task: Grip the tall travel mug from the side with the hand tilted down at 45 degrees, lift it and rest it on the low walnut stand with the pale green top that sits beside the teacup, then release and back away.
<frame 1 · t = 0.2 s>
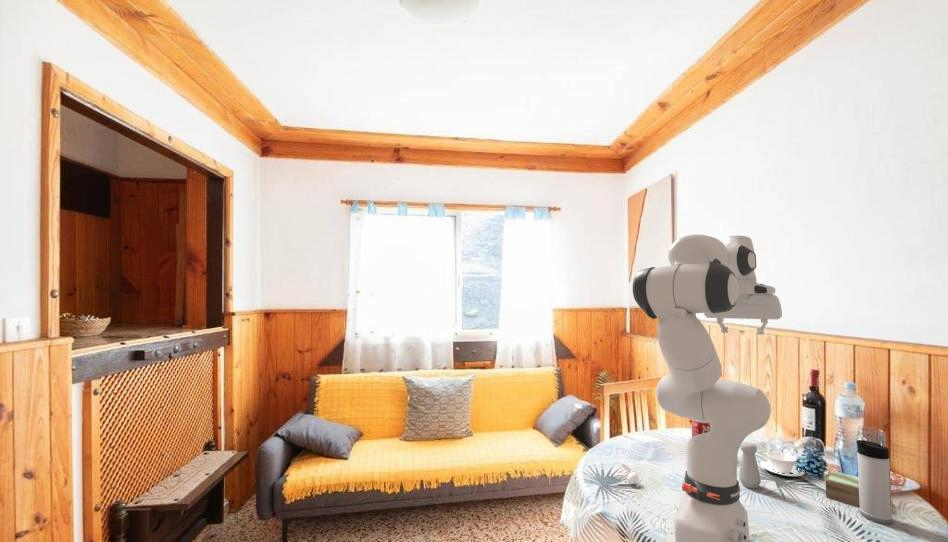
hand: (742, 333, 127), 48 cm above the table, tool pointing down, fingers open, 8 cm apart
teacup: (781, 472, 138), on the table
travel mug: (875, 518, 110), on the table
salt shaker: (749, 486, 128), on the table
stand: (848, 497, 121), on the table
soda can: (702, 452, 155), on the table
rabbit figurine: (626, 483, 131), on the table
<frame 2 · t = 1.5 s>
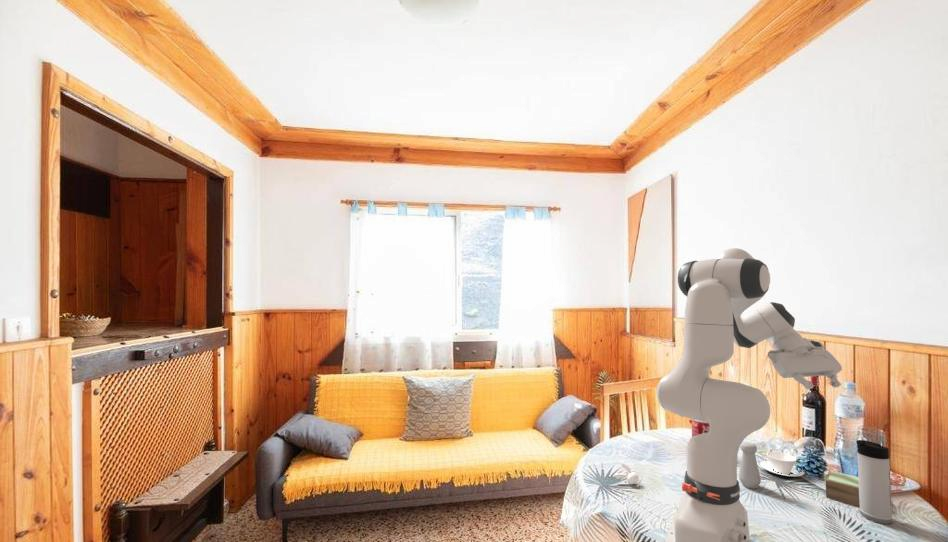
hand: (824, 387, 124), 32 cm above the table, tool tilted 45°, fingers open, 8 cm apart
nothing on the table moved.
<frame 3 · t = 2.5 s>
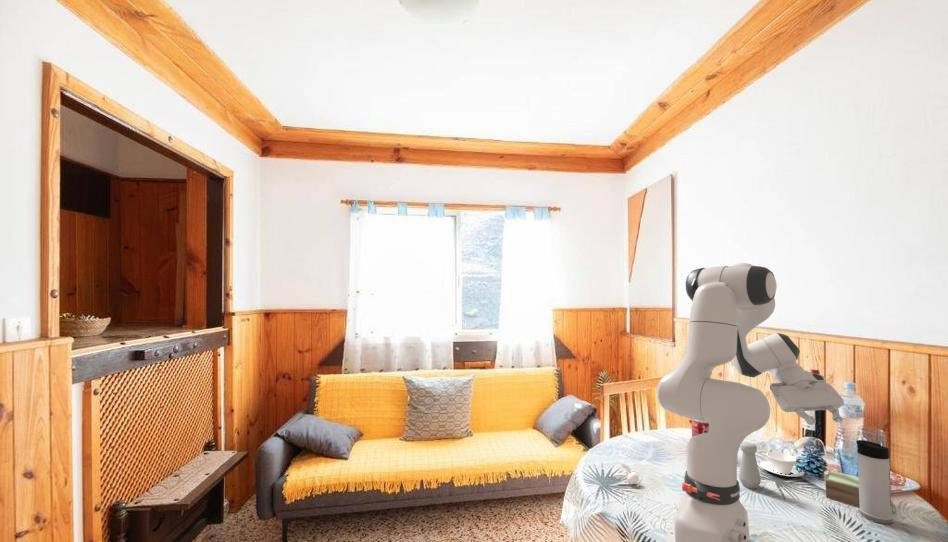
hand: (826, 422, 123), 21 cm above the table, tool tilted 45°, fingers open, 8 cm apart
nothing on the table moved.
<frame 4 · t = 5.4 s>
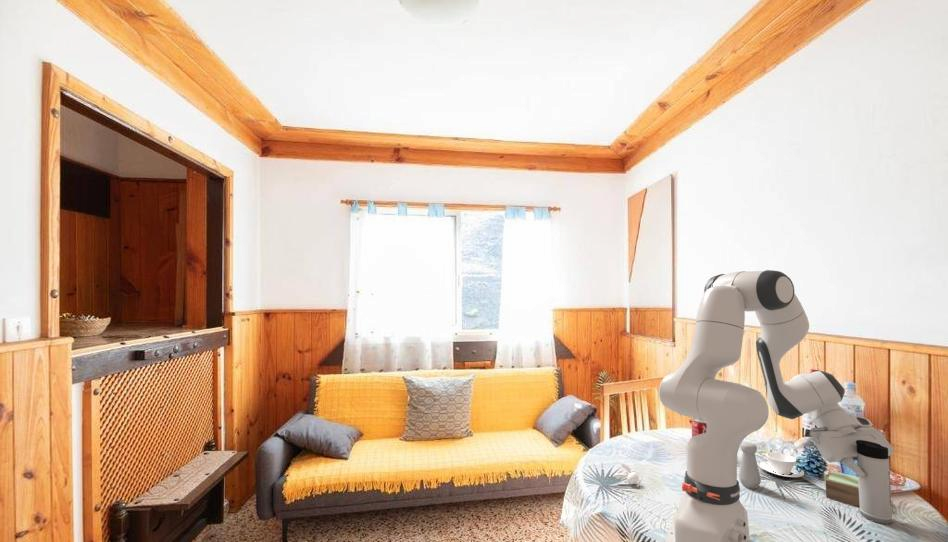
hand: (875, 475, 110), 11 cm above the table, tool tilted 45°, fingers closed on travel mug, 6 cm apart
travel mug: (875, 518, 110), on the table, touching gripper
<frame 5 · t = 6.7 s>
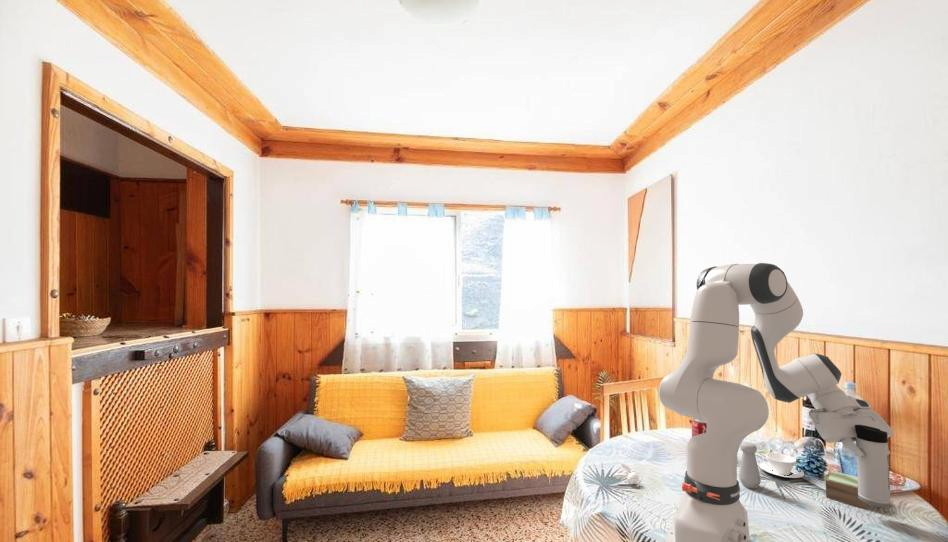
hand: (874, 455, 110), 17 cm above the table, tool tilted 45°, fingers closed on travel mug, 6 cm apart
travel mug: (873, 502, 110), point 4 cm above the table, touching gripper
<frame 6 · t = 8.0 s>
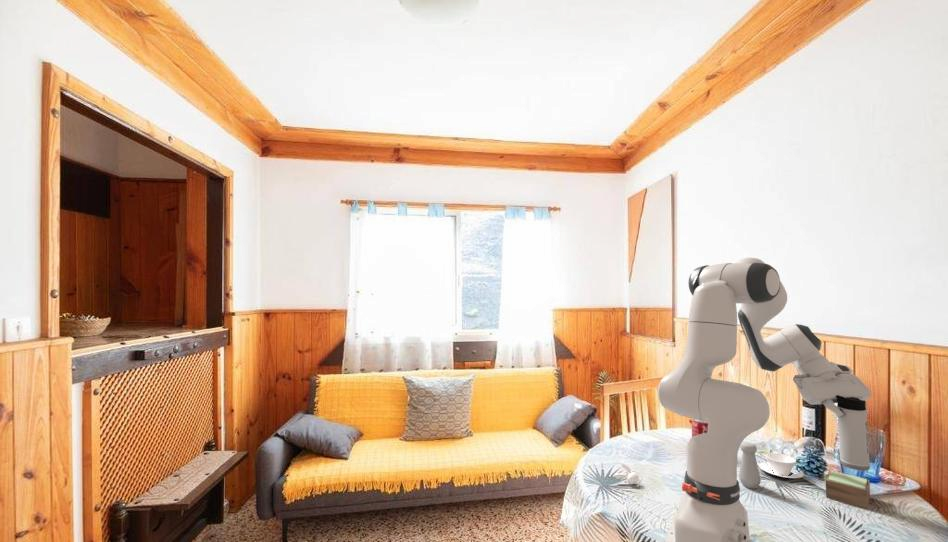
hand: (853, 415, 119), 25 cm above the table, tool tilted 45°, fingers closed on travel mug, 6 cm apart
travel mug: (854, 466, 118), point 10 cm above the table, touching gripper
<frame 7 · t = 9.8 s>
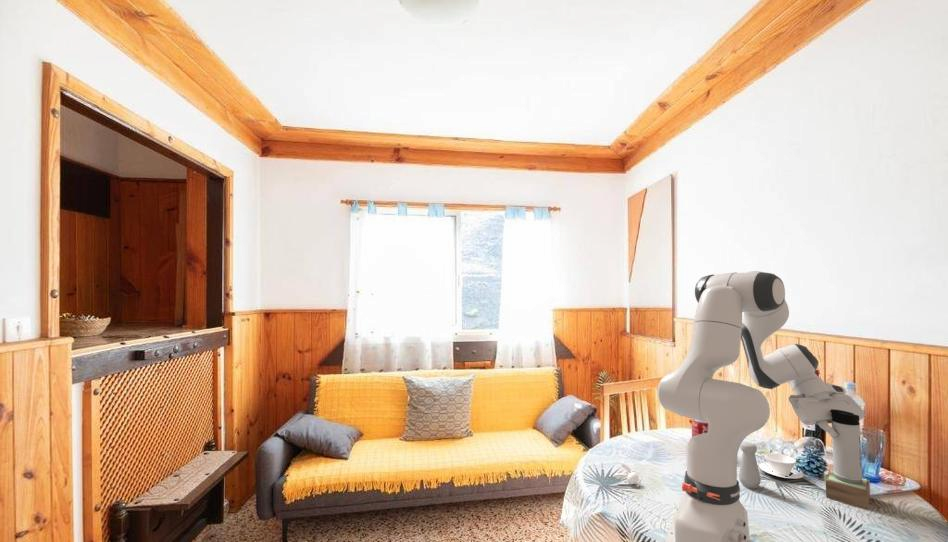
hand: (847, 435, 121), 18 cm above the table, tool tilted 45°, fingers closed on travel mug, 6 cm apart
travel mug: (847, 480, 121), point 5 cm above the table, touching gripper, stand
when the fingers open (18 cm above the table, at t = 10.3 s): travel mug stays where it is, resting on stand.
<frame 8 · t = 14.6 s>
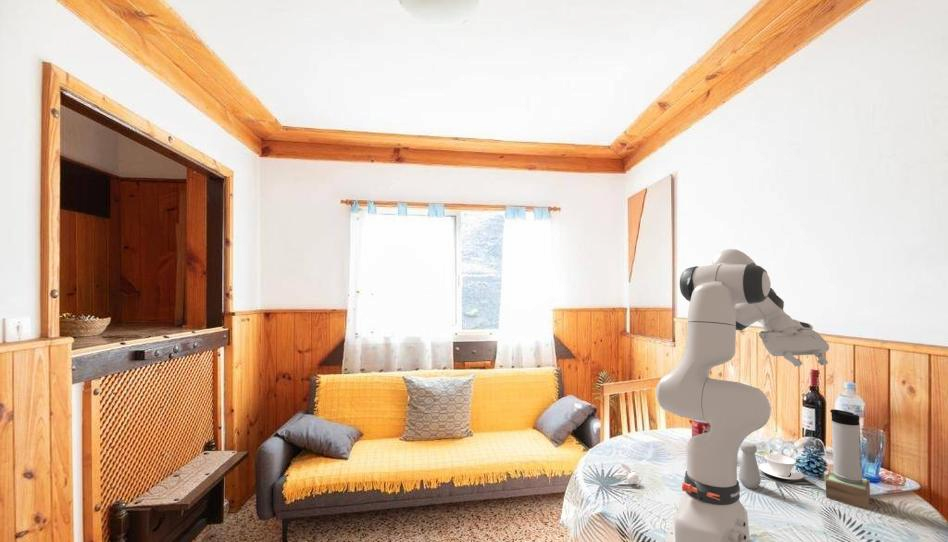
hand: (812, 364, 130), 37 cm above the table, tool tilted 45°, fingers open, 8 cm apart
travel mug: (847, 480, 121), point 5 cm above the table, touching stand
at the end: travel mug inside the target area on the stand (0.2 cm from its centre), point 5.1 cm above the stand's base; travel mug tilted 0°; travel mug 17.3 cm from the teacup (horizontally) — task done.
